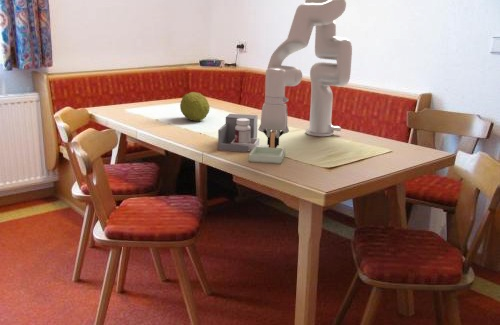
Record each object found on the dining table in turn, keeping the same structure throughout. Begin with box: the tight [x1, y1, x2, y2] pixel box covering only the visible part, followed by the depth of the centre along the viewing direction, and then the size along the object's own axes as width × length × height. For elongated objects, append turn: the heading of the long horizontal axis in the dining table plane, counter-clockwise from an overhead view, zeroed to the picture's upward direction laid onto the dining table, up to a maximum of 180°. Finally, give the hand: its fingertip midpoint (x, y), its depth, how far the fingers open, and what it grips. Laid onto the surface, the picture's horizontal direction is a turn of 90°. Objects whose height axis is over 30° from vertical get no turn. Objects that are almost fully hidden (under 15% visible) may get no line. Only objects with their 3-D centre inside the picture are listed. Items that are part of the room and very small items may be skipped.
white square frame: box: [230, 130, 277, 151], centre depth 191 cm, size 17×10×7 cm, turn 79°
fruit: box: [179, 91, 210, 122], centre depth 239 cm, size 16×14×15 cm
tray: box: [248, 147, 286, 165], centre depth 178 cm, size 12×12×3 cm
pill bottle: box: [235, 118, 251, 144], centre depth 191 cm, size 6×6×11 cm
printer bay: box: [217, 113, 258, 153], centre depth 195 cm, size 12×20×11 cm, turn 169°
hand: (273, 146), depth 190 cm, fingers closed on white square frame
